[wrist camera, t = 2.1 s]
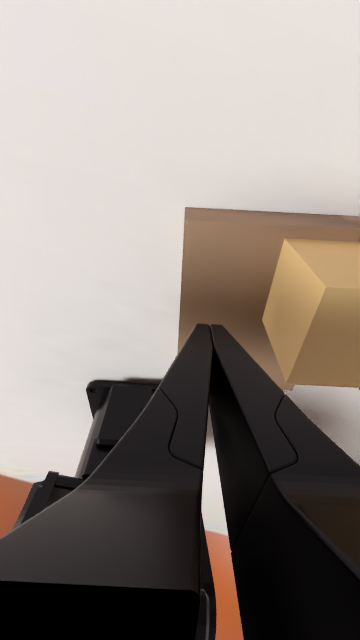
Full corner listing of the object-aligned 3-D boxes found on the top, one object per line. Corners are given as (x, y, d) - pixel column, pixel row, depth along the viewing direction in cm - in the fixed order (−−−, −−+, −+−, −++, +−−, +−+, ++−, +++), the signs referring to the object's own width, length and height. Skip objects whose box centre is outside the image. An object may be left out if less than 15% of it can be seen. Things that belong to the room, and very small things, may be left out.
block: (344, 324, 13) (395, 389, 10) (262, 319, 13) (286, 383, 10) (384, 243, 11) (470, 294, 7) (284, 238, 11) (325, 287, 7)
